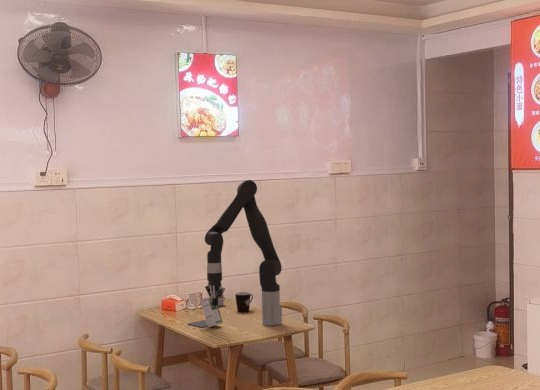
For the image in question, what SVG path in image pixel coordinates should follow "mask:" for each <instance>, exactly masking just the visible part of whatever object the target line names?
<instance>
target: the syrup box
mask: <svg viewBox="0 0 540 390" xmlns="http://www.w3.org/2000/svg"><path fill="white" fill-rule="evenodd" d="M199 301H200V305H201V308H202V311H203V314H204V318H205V319H204V320H206V322H207V326H208V328H210V327H211V328H212V327H215V326H217V325H221V324H224V322H223V319H222V318H223V317H222V315H221V311H220V307H218V305H217V306H213V304H212V297H210V296H208V297H204V298H202V299H200V300H199Z"/></svg>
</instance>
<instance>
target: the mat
mask: <svg viewBox="0 0 540 390" xmlns="http://www.w3.org/2000/svg"><path fill="white" fill-rule="evenodd" d="M187 326H192V327H196V328H201V329H204V328H207V327H208V326H207V322H206V319H203V320H198V321H192V322H189V323H187ZM208 328H209V327H208Z"/></svg>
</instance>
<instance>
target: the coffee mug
mask: <svg viewBox="0 0 540 390" xmlns="http://www.w3.org/2000/svg"><path fill="white" fill-rule="evenodd" d="M234 294H235V295H234V296H235V303H236V309H237V312H238V313H242V314H243V313H249V312H250V307H251V306H250V304H251V302H252V301H253V299H254V297H253V294H251V292H248V291H247V292H246V291H245V292H244V291H243V292H241V291H240V292H236V293H234Z"/></svg>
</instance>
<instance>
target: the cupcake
mask: <svg viewBox="0 0 540 390" xmlns="http://www.w3.org/2000/svg"><path fill="white" fill-rule="evenodd" d="M216 295H217V294H216ZM225 300H226V297H225V295H224V293H223V294H222V296H221V297H219V298H218V308H221V307H223V306H224V302H225Z"/></svg>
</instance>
